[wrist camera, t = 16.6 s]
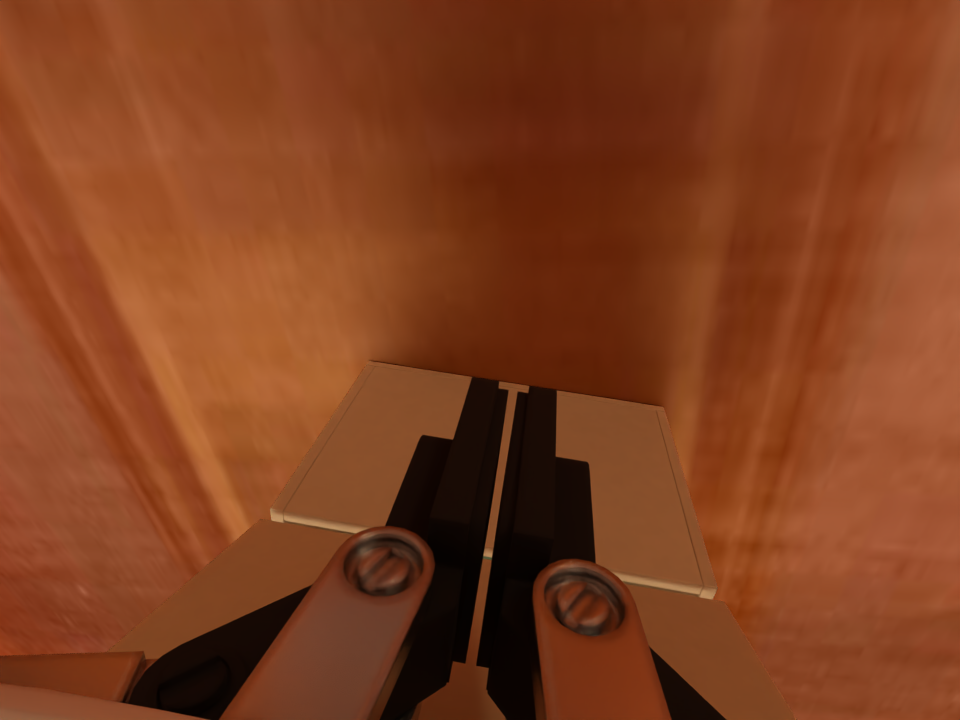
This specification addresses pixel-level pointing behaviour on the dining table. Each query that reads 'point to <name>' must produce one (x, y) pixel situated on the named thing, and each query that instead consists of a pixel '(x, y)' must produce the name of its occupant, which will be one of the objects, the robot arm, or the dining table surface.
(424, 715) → the flap
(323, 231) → the dining table surface
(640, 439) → the carton
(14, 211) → the dining table surface
